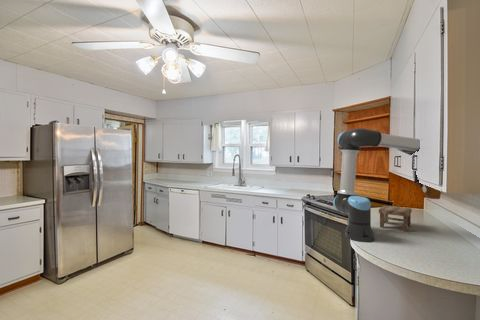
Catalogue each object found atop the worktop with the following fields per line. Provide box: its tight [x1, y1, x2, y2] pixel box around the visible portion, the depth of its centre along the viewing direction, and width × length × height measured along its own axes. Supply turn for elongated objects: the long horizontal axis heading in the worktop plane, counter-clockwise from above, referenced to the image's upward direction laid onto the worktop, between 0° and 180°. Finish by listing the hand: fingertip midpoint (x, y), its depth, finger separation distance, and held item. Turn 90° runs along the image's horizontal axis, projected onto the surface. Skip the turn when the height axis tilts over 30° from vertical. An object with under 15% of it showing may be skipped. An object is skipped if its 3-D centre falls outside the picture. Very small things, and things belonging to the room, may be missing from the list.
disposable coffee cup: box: [425, 185, 442, 200], centre depth 139 cm, size 10×10×12 cm
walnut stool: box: [378, 205, 413, 233], centre depth 158 cm, size 16×16×12 cm
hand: (435, 191), depth 136 cm, fingers closed on disposable coffee cup, 9 cm apart
